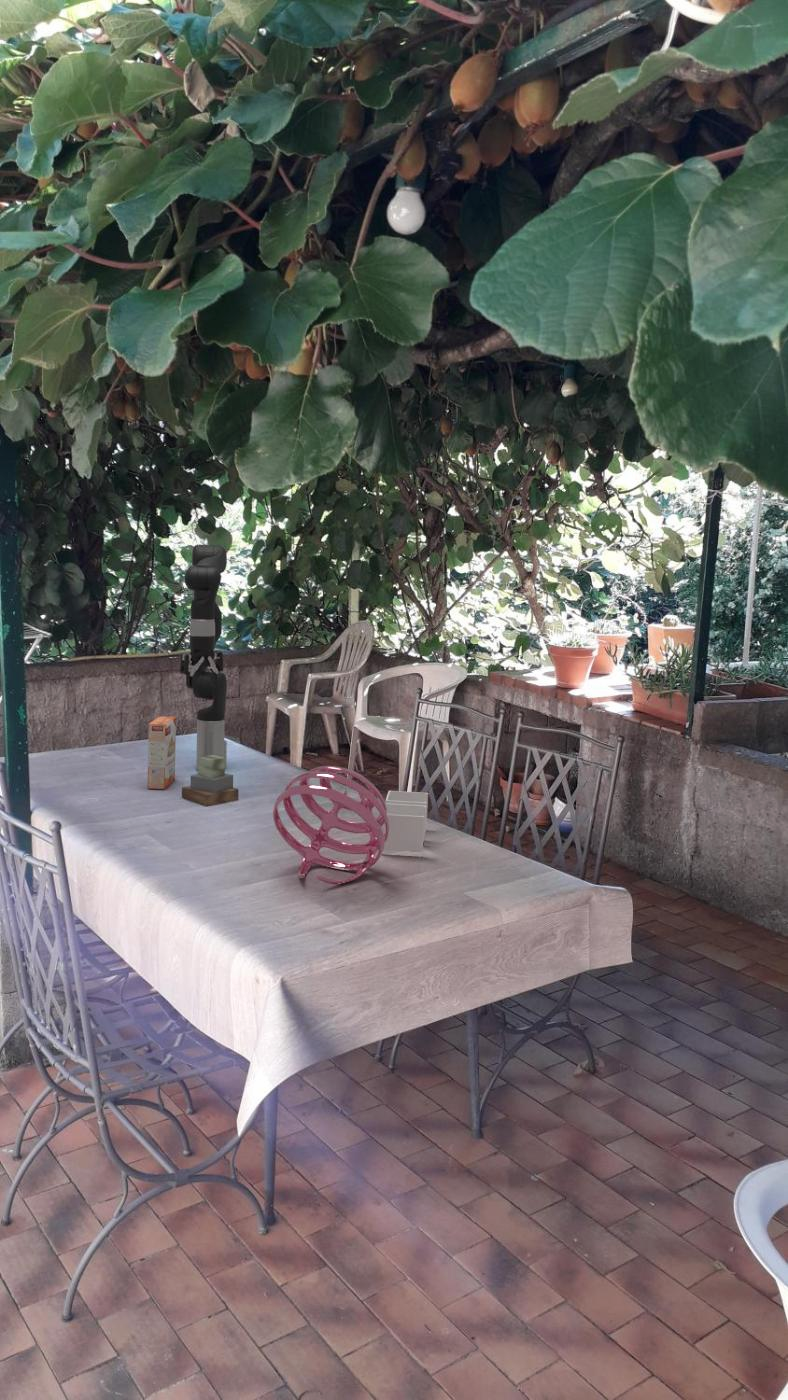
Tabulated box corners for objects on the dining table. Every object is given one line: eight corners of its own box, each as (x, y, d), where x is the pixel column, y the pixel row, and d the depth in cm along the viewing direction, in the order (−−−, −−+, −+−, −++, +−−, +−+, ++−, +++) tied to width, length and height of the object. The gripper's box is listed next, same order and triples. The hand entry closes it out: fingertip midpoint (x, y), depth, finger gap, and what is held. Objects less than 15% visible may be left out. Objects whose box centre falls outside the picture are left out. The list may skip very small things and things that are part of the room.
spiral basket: (327, 824, 223) (372, 737, 241) (230, 831, 238) (279, 748, 256) (385, 907, 237) (423, 819, 255) (289, 909, 252) (332, 826, 270)
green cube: (212, 772, 317) (212, 754, 316) (224, 775, 313) (224, 757, 312) (198, 775, 312) (198, 757, 312) (210, 778, 309) (210, 760, 308)
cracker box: (166, 790, 322) (166, 724, 319) (146, 789, 323) (147, 723, 319) (176, 779, 336) (177, 716, 333) (157, 778, 336) (158, 715, 333)
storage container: (387, 828, 292) (388, 790, 290) (426, 831, 291) (428, 792, 289) (379, 855, 267) (381, 814, 265) (422, 858, 266) (423, 816, 265)
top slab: (209, 783, 320) (209, 770, 319) (233, 787, 316) (233, 774, 315) (190, 788, 312) (190, 775, 312) (214, 793, 308) (214, 780, 307)
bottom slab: (213, 794, 323) (214, 781, 322) (238, 802, 315) (238, 789, 314) (181, 800, 314) (182, 787, 313) (206, 808, 306) (206, 795, 305)
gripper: (213, 631, 321) (213, 683, 323) (175, 633, 310) (174, 687, 313) (229, 634, 316) (228, 686, 318) (190, 636, 305) (189, 690, 308)
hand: (201, 687), depth 316 cm, fingers open, 8 cm apart
